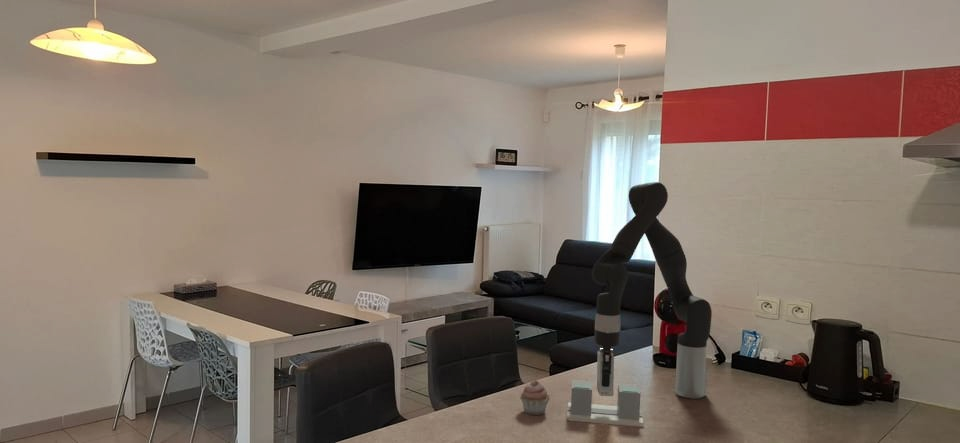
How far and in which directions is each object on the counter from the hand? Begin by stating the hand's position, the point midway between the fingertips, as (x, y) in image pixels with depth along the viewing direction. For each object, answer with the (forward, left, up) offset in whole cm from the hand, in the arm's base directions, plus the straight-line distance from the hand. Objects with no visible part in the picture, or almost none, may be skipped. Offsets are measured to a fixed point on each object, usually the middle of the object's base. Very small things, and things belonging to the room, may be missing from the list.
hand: (605, 382), depth 189 cm
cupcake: (+18, -11, -11) cm, 24 cm away
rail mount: (0, 0, -10) cm, 10 cm away
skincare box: (0, 0, -3) cm, 3 cm away
